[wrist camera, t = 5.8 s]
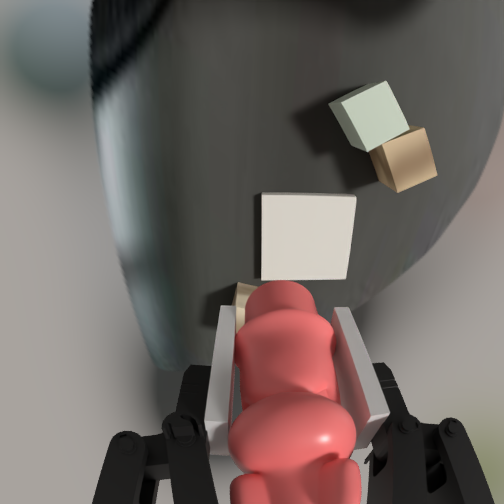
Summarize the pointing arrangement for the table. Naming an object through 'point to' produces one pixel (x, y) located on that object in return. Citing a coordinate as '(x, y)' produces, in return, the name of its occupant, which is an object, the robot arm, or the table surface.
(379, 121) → the sage block
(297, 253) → the coaster
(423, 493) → the robot arm
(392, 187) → the oak block
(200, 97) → the table surface
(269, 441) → the figurine
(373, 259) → the table surface
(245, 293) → the maple block
